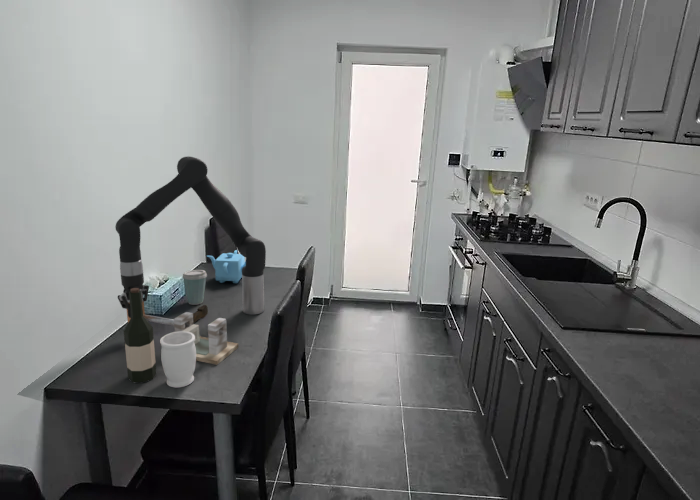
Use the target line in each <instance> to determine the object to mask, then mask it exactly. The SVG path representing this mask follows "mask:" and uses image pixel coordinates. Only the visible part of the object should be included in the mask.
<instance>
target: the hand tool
mask: <svg viewBox="0 0 700 500" xmlns="http://www.w3.org/2000/svg"><path fill="white" fill-rule="evenodd" d="M192 313H193V324H194V323H196V322H198V321H199V320H200V319H204V318H205V317H206V316H207V315H208V313H209V309H208V306H207V305H206V304H204V305H202V306H200V307H198V308H197V310H196V311H195V312H192Z"/></svg>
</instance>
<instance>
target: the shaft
mask: <svg viewBox="0 0 700 500" xmlns="http://www.w3.org/2000/svg"><path fill="white" fill-rule="evenodd" d="M142 308H143V316H144V318H145V319H146V320H147V321H148V322H149V323H156V324H161V325H167V326H172V327H174V318H173V319H172V318H166V317H161V316H155V315H150V314H146V312H145V310H146V309H145V301H144V302H143V301H142ZM126 317H127V318H126V319H127V323H128V322H129V321H130V319H131V318H129V316H128V310H127V309H126ZM186 325H187V323H185V327H186Z"/></svg>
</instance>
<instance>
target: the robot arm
mask: <svg viewBox="0 0 700 500" xmlns="http://www.w3.org/2000/svg"><path fill="white" fill-rule="evenodd" d="M176 169H177V170H176V171H177V173H178V174H176V175H175V177H174V178H172V180H171V181H169V182H168V183H166V184H165V185H163V186H161V187H159V188H158V189H156V190H154V191H153V192H152V193H150V194H149V195H147V197H145V198H144V199H143V200H142V201H141V202H140V203H138V204H137V206H136V207H135V208H133V209H130V210H129V211H127V213H125V214H124V215H122V216H121V217H120V218H119V219H117V221H116V222H115V227H114V228H115V231H116V233H117V234H118V236H119V245H120V246H119V249H118V250H119V251H118V254H119V270H120V281H121V286H122V287H123V291H122V292H123V293H122V294H121V295H117V299H118V302H119V304H120V306H121V308H122V309H124V310H126V311H127V310H128V316H129V318H131V310H130V299H129V292H130V289H132V288H139V290H140V291H141V296H142V301H143V302H144V303H145V302H147V301H148V295H149V289H150V285H145V284H144V283H145V277H144V267H143V262H142V261H143V260H142V252H141V228H140V227H141V226H143V225H144V224H146V223H147V222H152V220H154V219H156V217H157V216H158V215H159V214H160V213H162V212H163V211H164V210H165V209H166V208H167V207H168V206H169V205H170V204H171V203H173V202H174V201H175V200H176V199H178V198H179V197H180V196H182V195H183V194H184V193H185V192H187V191H188V190H190V189H192V190H193V191H194V192H195V194H196V195H197V196H198V197H199V199H200V201H201V202H202V204H203V205H204V207H205V208H206V210H207V211H208V213H209V214H210V215H211V216H212V218H213V219H214V221H215V222H216V223H217V224H218V225H219V226H220V228H222V230H223V231H224V232H225V233H226V235H228V236H229V238H230V239H231V240H232V242H233V244H234V246H235V248H236V250H237V252H239V254H241V255H242V256H244V257H245V261H246V266H244V267H243V268H242V279H241V281H242V283H241V287H242V313H244V314H247V315H259V314H262V313H264V311H265V288H264V287H265V285H264V283H265V282H264V280H265V279H264V271H265V268H266V261H267V260H266V258H267V257H266V255H267V254H266V252H267V250H266V245H265V243H264V241H262V240H260V239H258V238H256V237H254V236H252V235H251V234H250V233H249V232H248V231H247V230H246V228H245V227H244V225H243V224H242V221H241V218H240V215H239V212H238V210H237V209H236V207H235V206H234V205H233V203H232V202H231V200H230V199H229V198H228V197H227V196H226V195H225V194H224V193H223V192H222V191H221V190H220V189H218V187H217V186H215V185H214V184H213V182H212V181H211V180H210V179H209V178H208V176H207V175H208V171H209V170H208V166H207V164H206V162H204V161H203V160H202V159H199V158H197V157H193V156H189V155H188V156H183V157H181V158H180V159H179V160H178V162H177V164H176Z"/></svg>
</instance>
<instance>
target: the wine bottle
mask: <svg viewBox="0 0 700 500" xmlns="http://www.w3.org/2000/svg"><path fill="white" fill-rule="evenodd" d="M129 299H130V310H131V319H130V321H129V322H128V321H127V324H126V326H125V328H124V330H123V337H124V346H125V347H124V348H125V358H126V359H125V360H126V367H127V368H126V369H127V378H128V380H129V379H130V380H131V381H132V382H144V383H147V382H149V381H151V379H152V380H154V379H155V377H156V375H157V365H156V352H155V351H156V350H155V340H154V328H153V326H152V324H151V322H150V321H147V320H146V319H145V318H144V316H143V308H142V296H141V291H140V290H139V288H132V289H130V292H129ZM130 380H129V381H130ZM148 380H149V381H148ZM131 381H130V382H131ZM146 381H147V382H146ZM132 382H131V383H132Z"/></svg>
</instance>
